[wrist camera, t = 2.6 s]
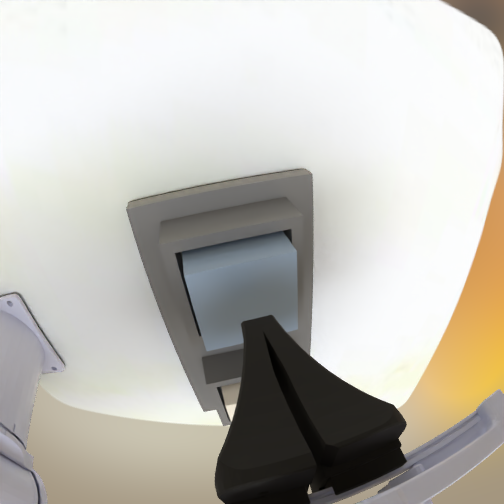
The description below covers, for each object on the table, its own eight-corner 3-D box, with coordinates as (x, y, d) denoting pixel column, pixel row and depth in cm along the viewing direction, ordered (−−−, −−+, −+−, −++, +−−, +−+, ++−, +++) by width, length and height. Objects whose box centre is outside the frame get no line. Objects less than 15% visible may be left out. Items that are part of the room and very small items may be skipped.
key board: (202, 403, 26) (207, 434, 23) (128, 202, 16) (119, 230, 13) (304, 378, 28) (317, 406, 25) (305, 168, 17) (333, 188, 14)
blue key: (202, 325, 17) (206, 351, 16) (182, 251, 15) (184, 275, 13) (286, 306, 18) (297, 329, 16) (282, 230, 15) (296, 251, 14)
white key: (230, 414, 23) (235, 434, 21) (220, 383, 20) (225, 405, 19) (288, 399, 24) (296, 418, 22) (288, 366, 21) (297, 387, 19)
